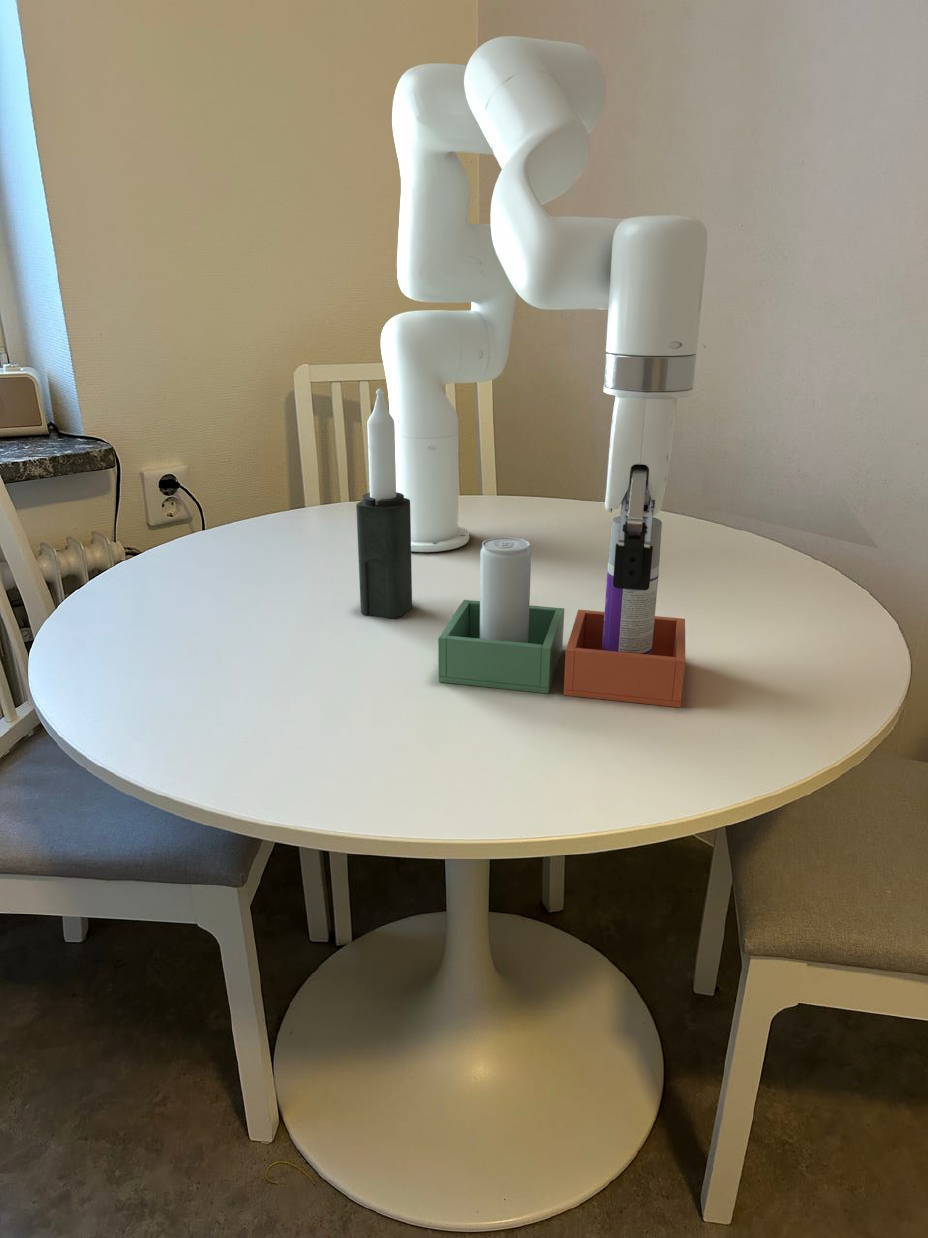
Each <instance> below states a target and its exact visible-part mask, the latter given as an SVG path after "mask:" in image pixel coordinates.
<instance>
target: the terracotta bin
mask: <svg viewBox="0 0 928 1238" xmlns="http://www.w3.org/2000/svg"><path fill="white" fill-rule="evenodd" d="M604 613H605V611H602V610H601V611H600V610H590V609H589V610H588V609H577V612H576V615H575V619H574V621H573V626H572V630H571V632H570V636H569V638H568V642H567V645H566V649H565V657H564V658H565V660H564V677H563V678H564V679H563V681H564V682H563V696H568V697H577V698H587V699H597V700H606V701H615V702H624V703H625V702H626V703H634V704H643V705H653V706H660V707H661V706H663V707H672V708H681V707H682V697H683V690H684V689H683V687H684V678H685V671H686V618H682V617H670V616H661V615H660V616H658V615H655V619H654V630H653V641H652V651H651V655H647V654H636V653H626V652H615V651H604V650H602V642H603V628H604Z"/></svg>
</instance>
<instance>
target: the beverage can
mask: <svg viewBox="0 0 928 1238" xmlns="http://www.w3.org/2000/svg"><path fill="white" fill-rule="evenodd" d="M530 543H531V542H529V541H528V540H526V539H524V538H521V537H513V536H496V537H490V538H487V539H485V540H483V541H482V542H481V546H482V547H481V549H480V555H479V557H480V559H479V560H480V561H479V562H480V563H479V564H480V567H479V568H480V569H479V577H480V578H479V589H480V590H479V601H480V639H488V640H499V641H509V642H520V643H528V631H529V605H531V603H530V602H531V572H532V570H531V569H532V550H531V548H530V547H531V544H530Z"/></svg>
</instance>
